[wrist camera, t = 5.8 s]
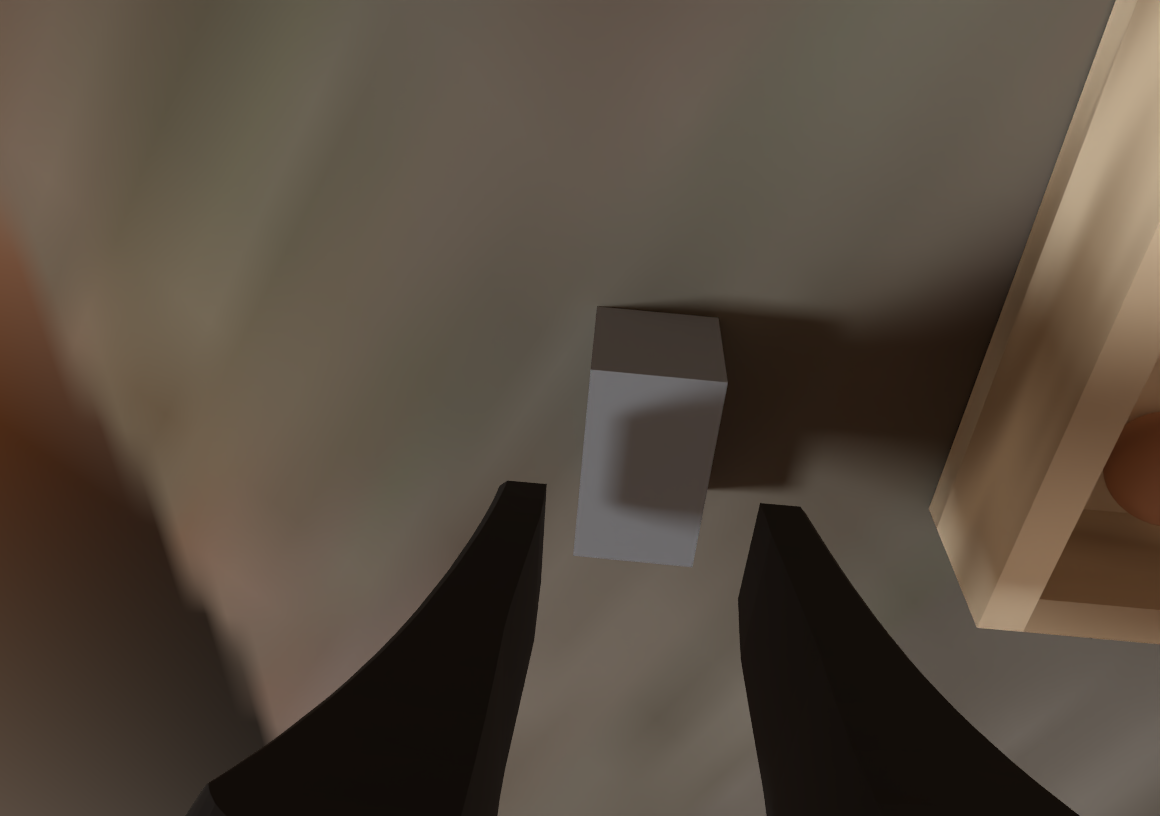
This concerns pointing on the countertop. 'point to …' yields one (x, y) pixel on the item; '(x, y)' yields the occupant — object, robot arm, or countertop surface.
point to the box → (1074, 382)
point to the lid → (649, 435)
